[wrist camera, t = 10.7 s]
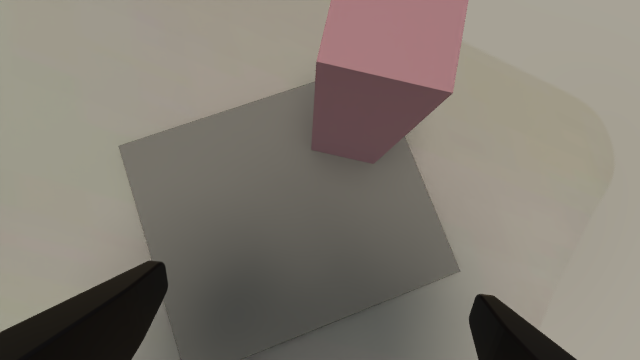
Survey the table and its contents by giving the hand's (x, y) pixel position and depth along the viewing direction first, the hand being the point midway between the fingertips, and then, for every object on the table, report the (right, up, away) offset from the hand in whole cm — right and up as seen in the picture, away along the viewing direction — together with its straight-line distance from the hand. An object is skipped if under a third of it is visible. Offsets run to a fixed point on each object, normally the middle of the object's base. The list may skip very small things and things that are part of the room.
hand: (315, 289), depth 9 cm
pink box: (+2, +7, +13) cm, 15 cm away
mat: (-2, +1, +13) cm, 13 cm away
